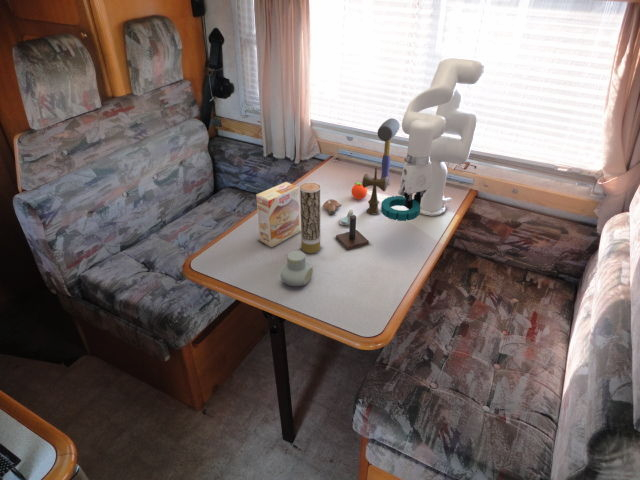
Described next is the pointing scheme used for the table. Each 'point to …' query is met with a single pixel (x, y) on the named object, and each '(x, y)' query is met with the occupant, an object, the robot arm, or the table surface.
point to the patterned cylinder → (310, 217)
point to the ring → (399, 214)
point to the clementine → (359, 191)
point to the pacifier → (346, 219)
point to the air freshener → (296, 269)
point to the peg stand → (352, 236)
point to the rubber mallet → (387, 142)
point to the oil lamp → (331, 206)
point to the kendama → (374, 190)
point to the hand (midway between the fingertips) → (412, 206)
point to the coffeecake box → (278, 213)
